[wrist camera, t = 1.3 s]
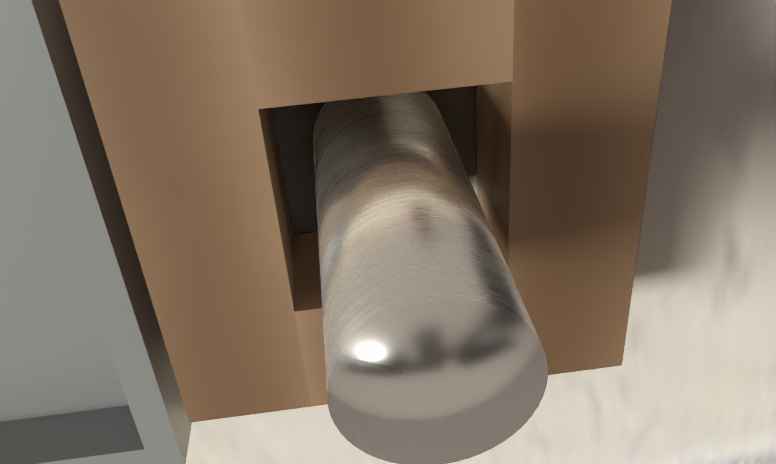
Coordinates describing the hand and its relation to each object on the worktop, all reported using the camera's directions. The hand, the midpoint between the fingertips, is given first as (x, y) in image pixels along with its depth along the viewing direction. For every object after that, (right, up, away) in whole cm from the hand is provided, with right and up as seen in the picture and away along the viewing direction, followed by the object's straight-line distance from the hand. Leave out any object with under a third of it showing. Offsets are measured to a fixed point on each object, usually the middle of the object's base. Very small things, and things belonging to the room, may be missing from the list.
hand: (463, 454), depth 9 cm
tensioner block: (-1, +5, +8) cm, 9 cm away
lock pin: (-1, +5, +8) cm, 9 cm away
